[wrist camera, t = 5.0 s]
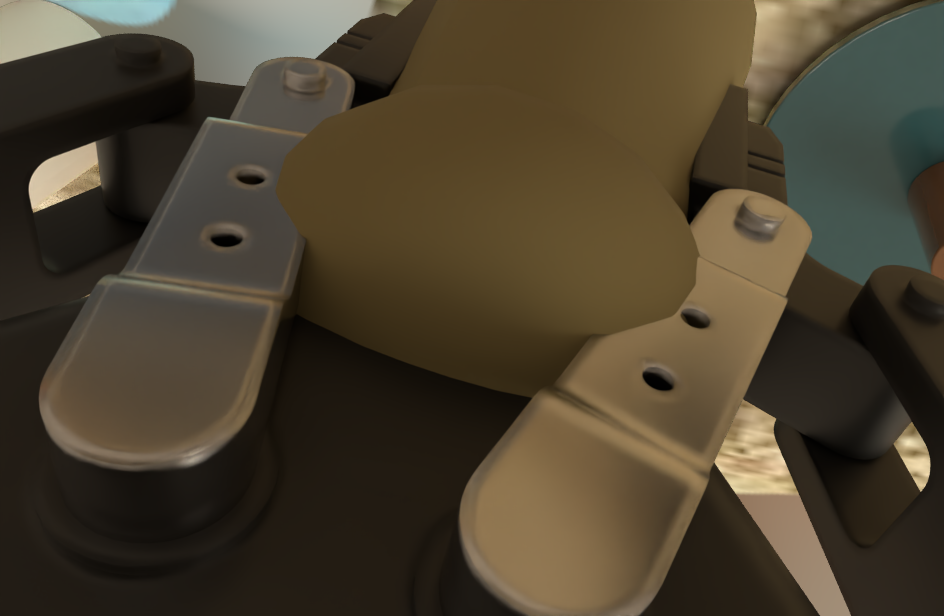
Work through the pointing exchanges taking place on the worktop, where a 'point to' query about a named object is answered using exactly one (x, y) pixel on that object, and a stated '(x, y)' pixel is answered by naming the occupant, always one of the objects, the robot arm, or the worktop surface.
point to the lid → (871, 145)
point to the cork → (516, 183)
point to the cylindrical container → (35, 32)
